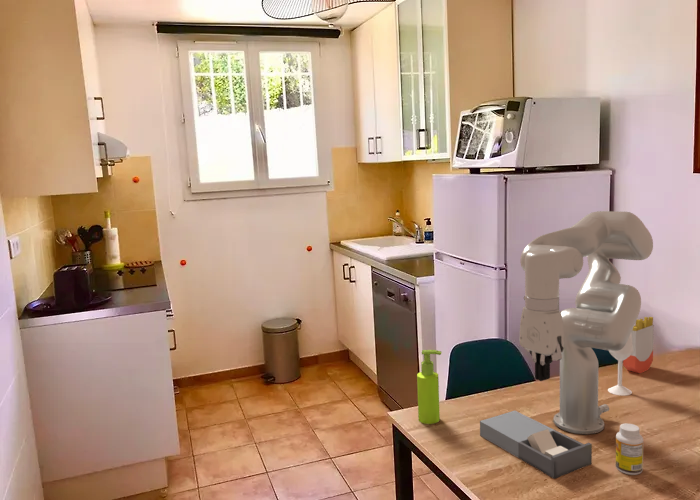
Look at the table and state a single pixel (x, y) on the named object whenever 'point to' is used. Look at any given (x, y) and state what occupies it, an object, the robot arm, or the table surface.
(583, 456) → the box
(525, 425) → the grey box sleeve
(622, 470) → the supplement bottle
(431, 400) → the soap dispenser
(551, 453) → the front tile
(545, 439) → the rear tile
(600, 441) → the table surface
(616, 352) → the champagne flute
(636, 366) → the french fries container
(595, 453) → the table surface
